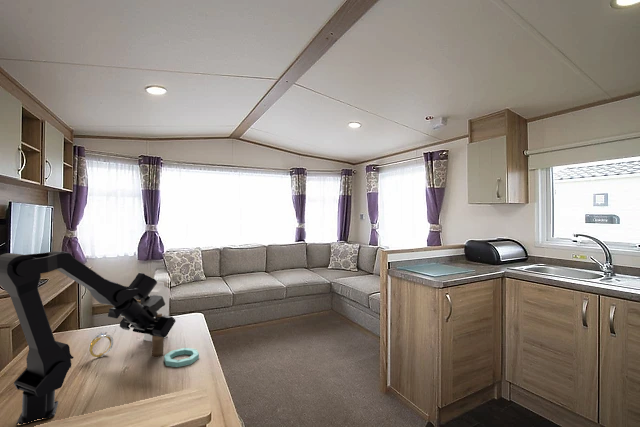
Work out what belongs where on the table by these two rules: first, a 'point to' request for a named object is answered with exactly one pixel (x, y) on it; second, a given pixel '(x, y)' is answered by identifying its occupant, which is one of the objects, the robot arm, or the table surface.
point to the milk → (164, 292)
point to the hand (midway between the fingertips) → (161, 334)
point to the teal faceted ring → (182, 362)
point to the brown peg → (157, 344)
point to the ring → (99, 336)
